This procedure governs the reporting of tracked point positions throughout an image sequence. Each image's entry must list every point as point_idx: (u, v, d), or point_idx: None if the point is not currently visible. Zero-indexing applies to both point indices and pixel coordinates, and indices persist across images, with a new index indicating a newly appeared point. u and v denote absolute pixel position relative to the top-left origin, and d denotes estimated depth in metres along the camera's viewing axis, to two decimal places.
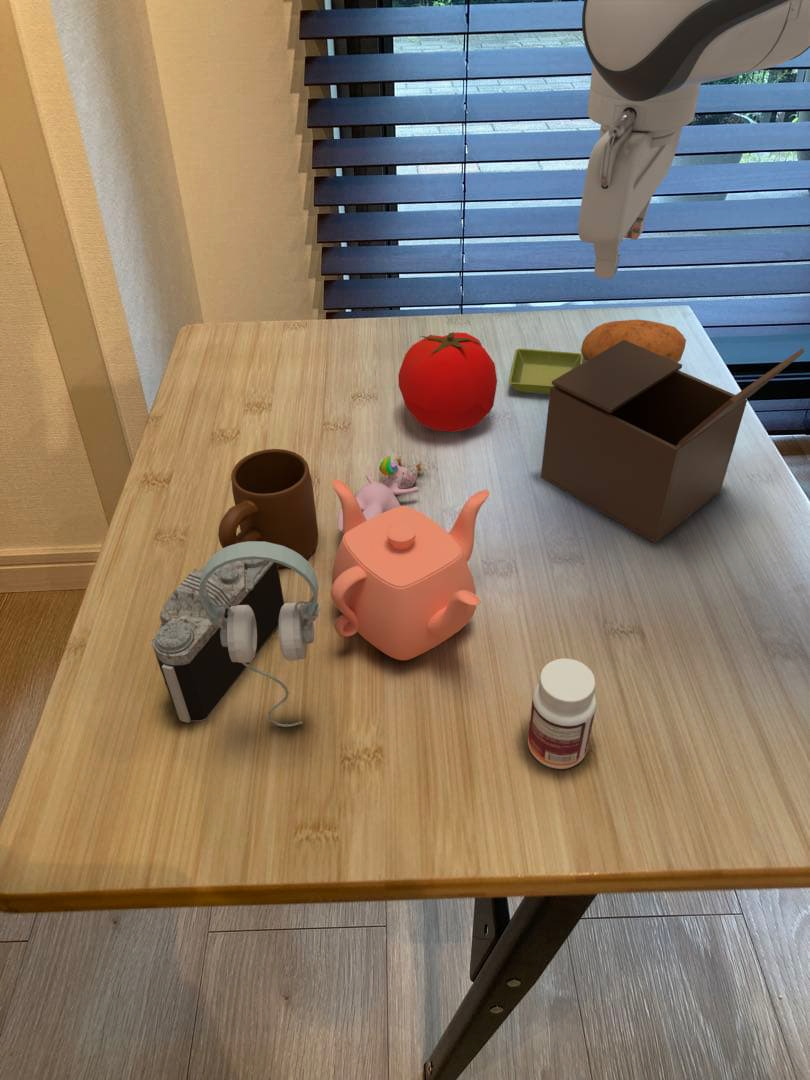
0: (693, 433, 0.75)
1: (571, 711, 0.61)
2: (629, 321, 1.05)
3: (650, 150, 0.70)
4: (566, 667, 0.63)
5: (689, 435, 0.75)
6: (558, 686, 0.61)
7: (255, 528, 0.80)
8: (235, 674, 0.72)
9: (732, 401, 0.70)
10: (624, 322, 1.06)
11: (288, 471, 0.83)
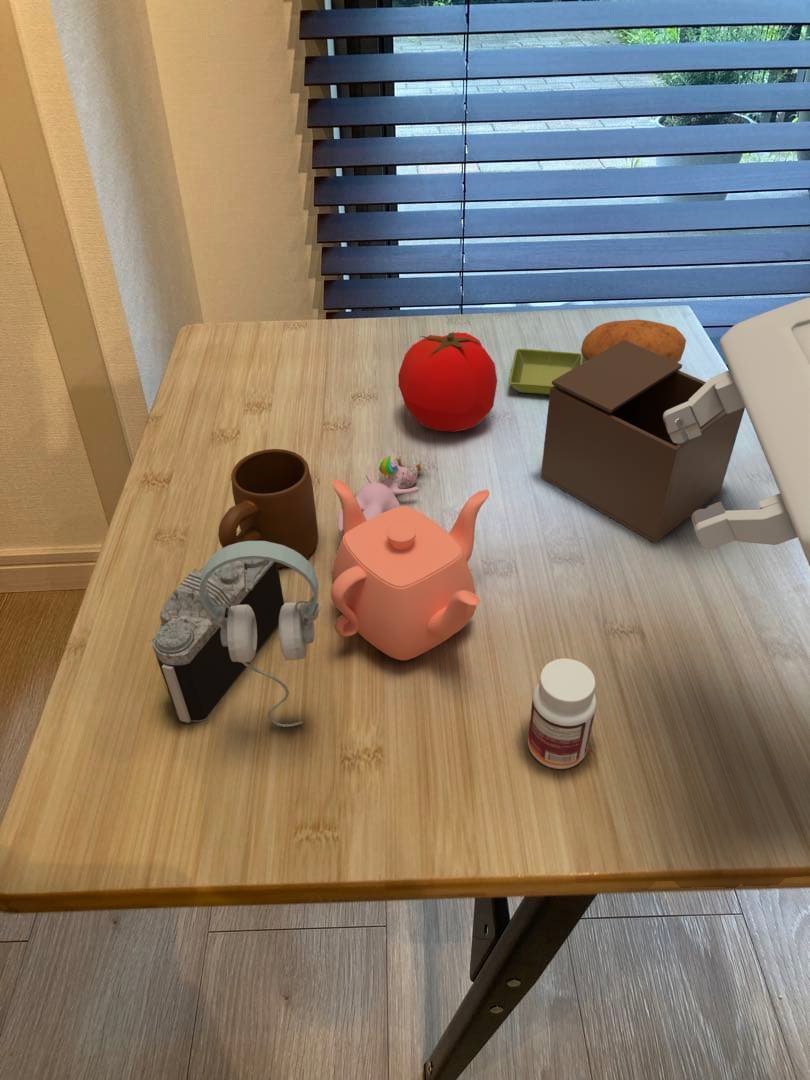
0: None
1: (571, 711, 0.61)
2: (629, 321, 1.05)
3: None
4: (566, 667, 0.63)
5: None
6: (558, 686, 0.61)
7: (255, 528, 0.80)
8: (235, 674, 0.72)
9: None
10: (624, 322, 1.06)
11: (288, 471, 0.83)
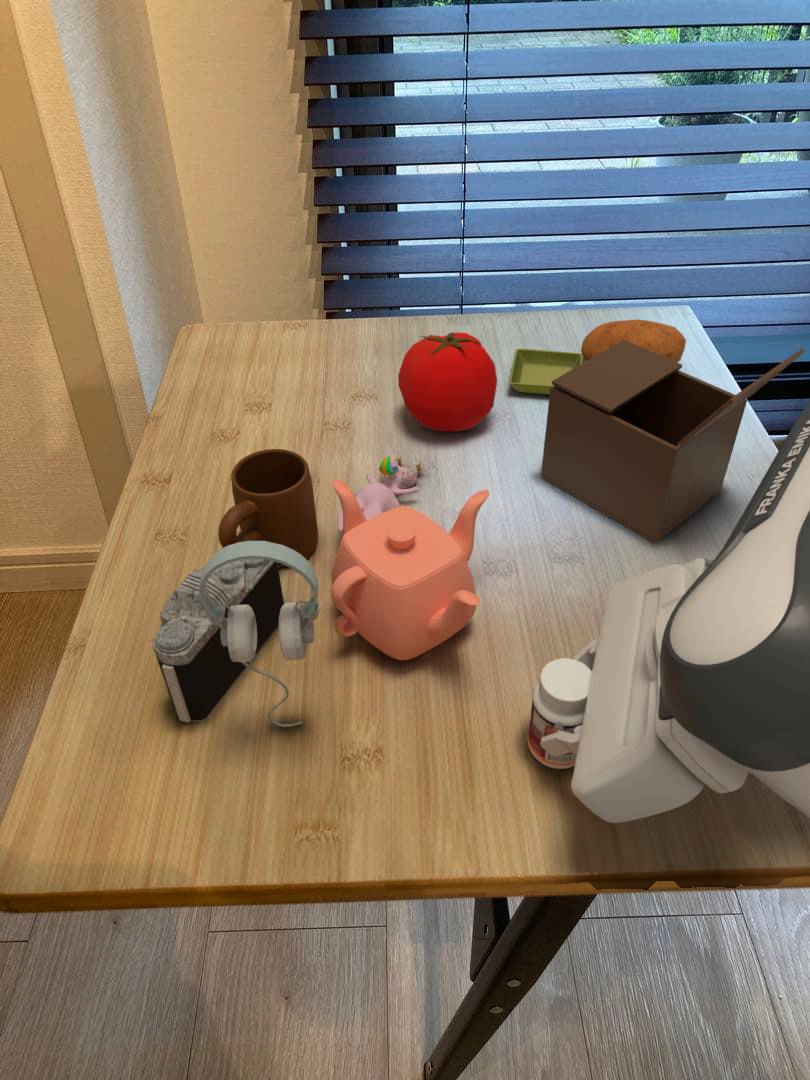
0: (693, 433, 0.75)
1: (571, 711, 0.61)
2: (629, 321, 1.05)
3: None
4: (566, 667, 0.63)
5: (689, 435, 0.75)
6: (558, 685, 0.61)
7: (255, 528, 0.80)
8: (235, 674, 0.72)
9: (732, 401, 0.70)
10: (624, 322, 1.06)
11: (288, 471, 0.83)
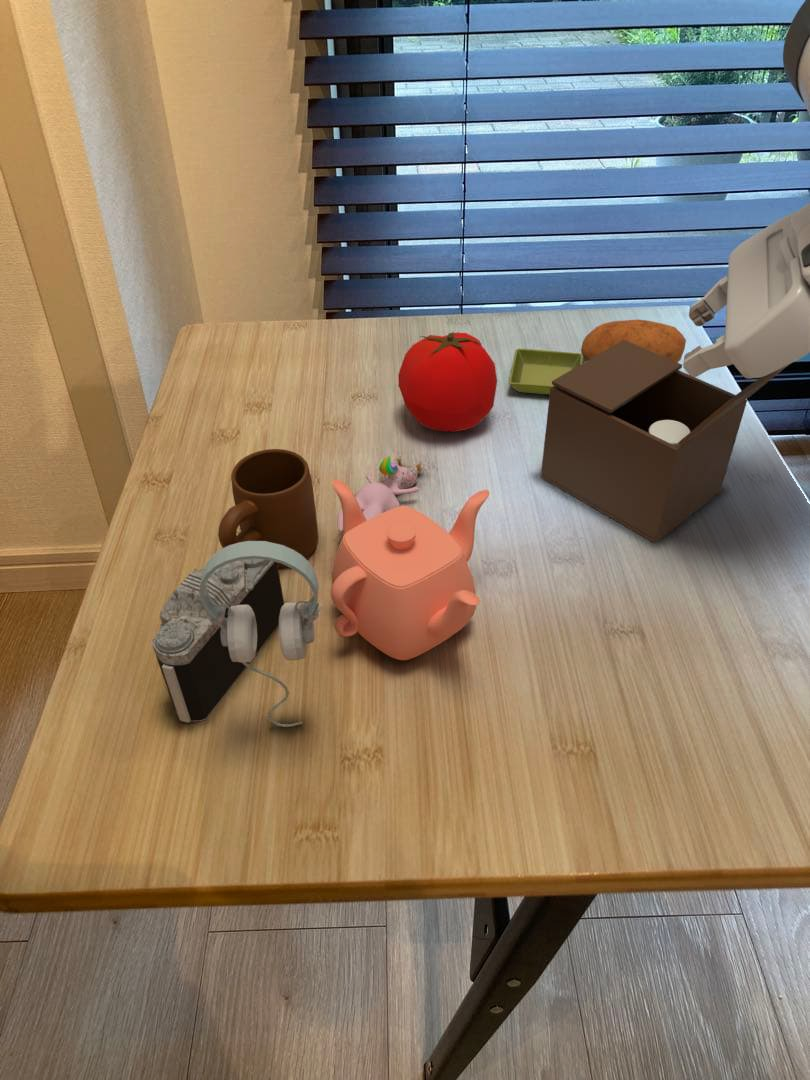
0: (693, 433, 0.75)
1: None
2: (629, 321, 1.05)
3: None
4: (668, 424, 0.84)
5: (689, 435, 0.75)
6: (663, 435, 0.83)
7: (255, 528, 0.80)
8: (235, 674, 0.72)
9: (732, 401, 0.70)
10: (624, 322, 1.06)
11: (288, 471, 0.83)
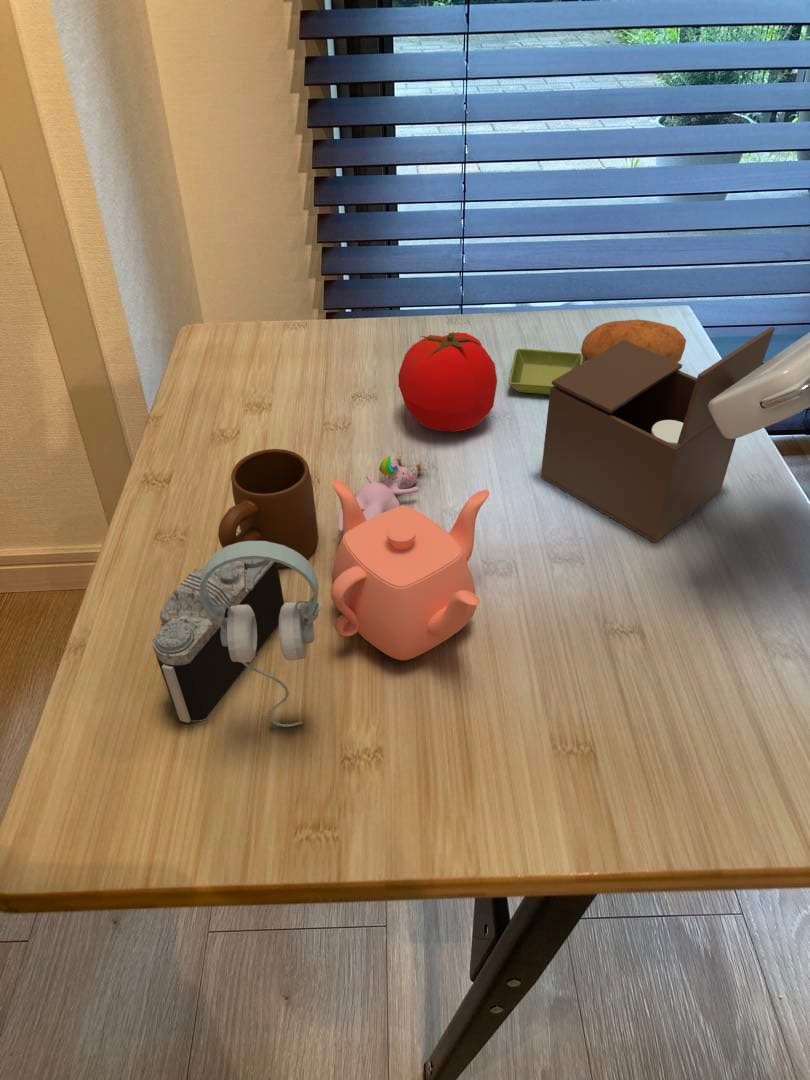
0: (685, 426, 0.75)
1: None
2: (629, 321, 1.05)
3: None
4: (670, 424, 0.85)
5: (682, 430, 0.75)
6: (666, 434, 0.83)
7: (255, 528, 0.80)
8: (235, 674, 0.72)
9: (700, 376, 0.71)
10: (624, 322, 1.06)
11: (288, 471, 0.83)
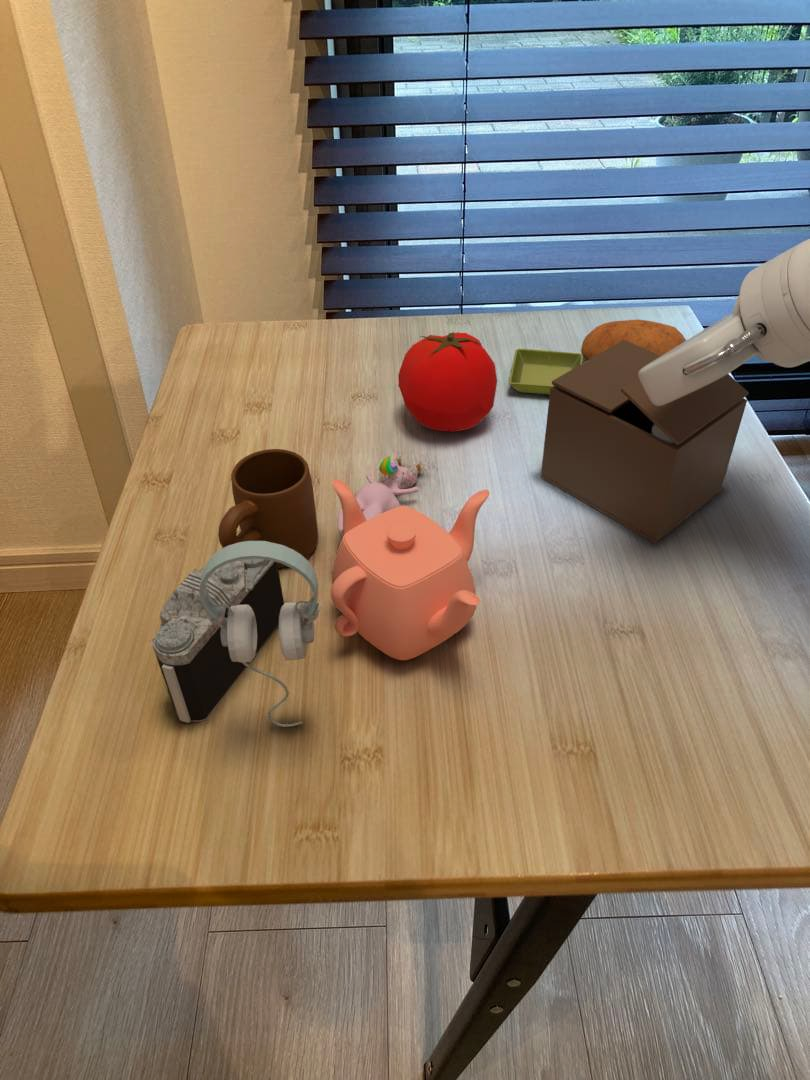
0: (662, 428, 0.77)
1: None
2: (629, 321, 1.05)
3: None
4: None
5: (665, 432, 0.77)
6: None
7: (255, 528, 0.80)
8: (235, 674, 0.72)
9: (622, 389, 0.78)
10: (624, 322, 1.06)
11: (288, 471, 0.83)
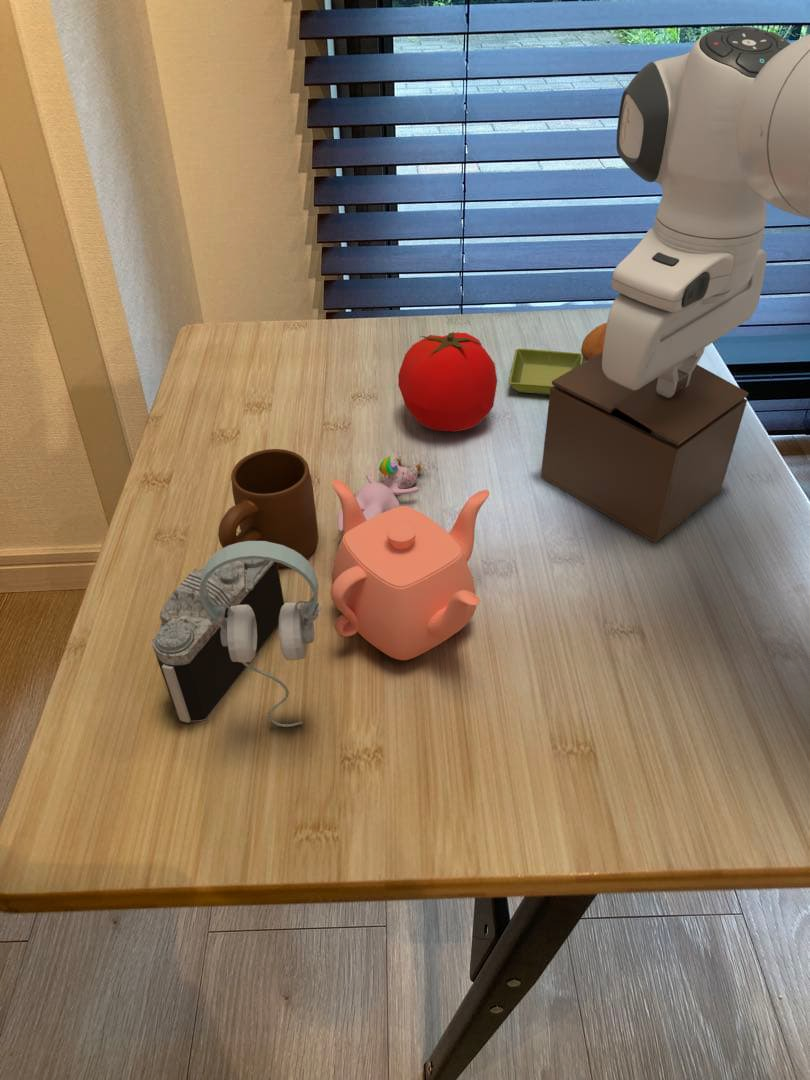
0: (659, 432, 0.78)
1: None
2: None
3: None
4: None
5: (663, 436, 0.77)
6: None
7: (255, 528, 0.80)
8: (235, 674, 0.72)
9: (614, 404, 0.80)
10: None
11: (288, 471, 0.83)
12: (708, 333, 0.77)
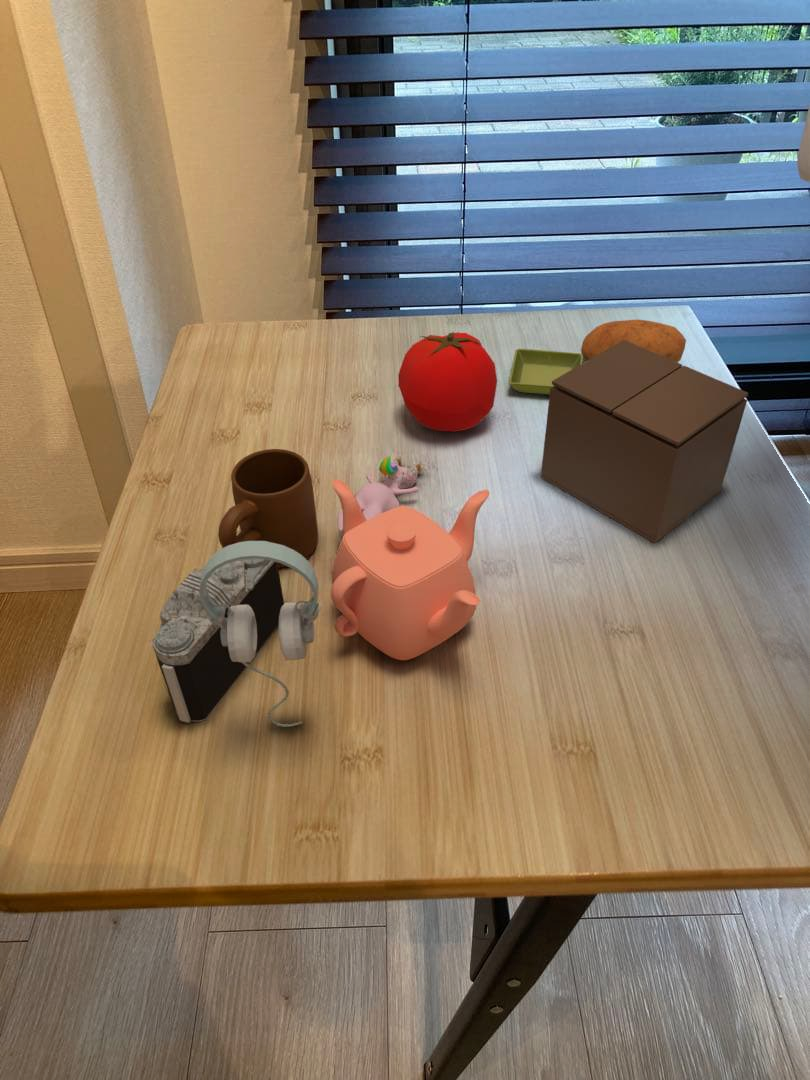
0: (659, 434, 0.78)
1: None
2: (629, 321, 1.05)
3: None
4: None
5: (663, 437, 0.77)
6: None
7: (255, 528, 0.80)
8: (235, 674, 0.72)
9: None
10: (624, 322, 1.06)
11: (288, 471, 0.83)
12: None
